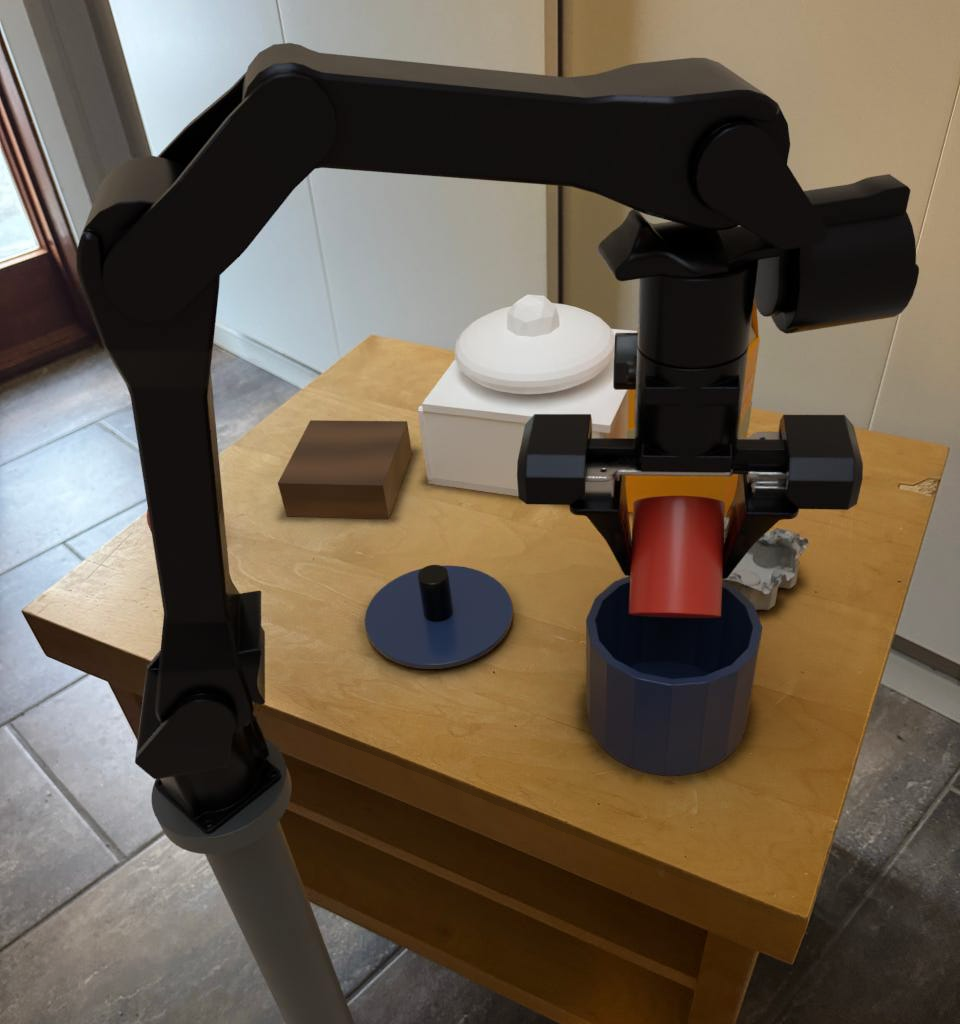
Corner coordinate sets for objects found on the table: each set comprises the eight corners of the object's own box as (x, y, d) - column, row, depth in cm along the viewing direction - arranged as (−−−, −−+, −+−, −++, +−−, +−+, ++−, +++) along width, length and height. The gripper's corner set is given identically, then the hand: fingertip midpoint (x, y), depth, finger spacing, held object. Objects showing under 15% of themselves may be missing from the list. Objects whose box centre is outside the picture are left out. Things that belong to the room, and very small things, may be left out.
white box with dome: (487, 394, 105) (475, 247, 94) (650, 412, 100) (658, 259, 89) (427, 484, 93) (405, 329, 82) (608, 510, 88) (611, 348, 77)
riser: (388, 519, 90) (382, 485, 87) (286, 516, 91) (277, 482, 89) (412, 454, 98) (407, 421, 95) (317, 452, 99) (310, 420, 97)
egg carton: (808, 578, 79) (817, 539, 76) (756, 625, 76) (762, 586, 73) (701, 528, 85) (705, 489, 82) (647, 569, 81) (650, 530, 79)
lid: (441, 697, 73) (433, 649, 69) (336, 631, 79) (325, 583, 75) (543, 613, 79) (541, 564, 75) (438, 557, 85) (432, 510, 81)
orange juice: (650, 466, 93) (661, 259, 79) (742, 483, 89) (770, 270, 76) (623, 512, 88) (630, 299, 74) (719, 531, 84) (745, 313, 71)
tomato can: (690, 613, 56) (694, 492, 56) (610, 613, 60) (615, 500, 60) (737, 618, 60) (741, 506, 60) (660, 618, 64) (664, 512, 64)
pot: (687, 803, 64) (697, 711, 58) (556, 723, 70) (552, 633, 64) (775, 705, 69) (793, 612, 63) (647, 639, 75) (652, 548, 69)
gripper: (859, 274, 55) (816, 500, 65) (531, 280, 58) (541, 496, 68) (890, 371, 47) (835, 610, 57) (508, 372, 50) (523, 600, 60)
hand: (675, 572), depth 61 cm, fingers closed on tomato can, 5 cm apart
